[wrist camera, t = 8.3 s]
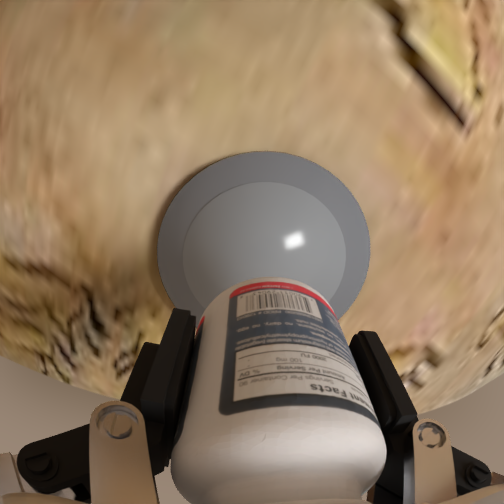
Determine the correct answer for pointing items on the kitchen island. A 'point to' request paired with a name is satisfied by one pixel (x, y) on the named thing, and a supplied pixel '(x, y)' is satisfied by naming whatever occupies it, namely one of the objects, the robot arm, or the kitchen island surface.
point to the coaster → (263, 231)
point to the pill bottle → (274, 404)
